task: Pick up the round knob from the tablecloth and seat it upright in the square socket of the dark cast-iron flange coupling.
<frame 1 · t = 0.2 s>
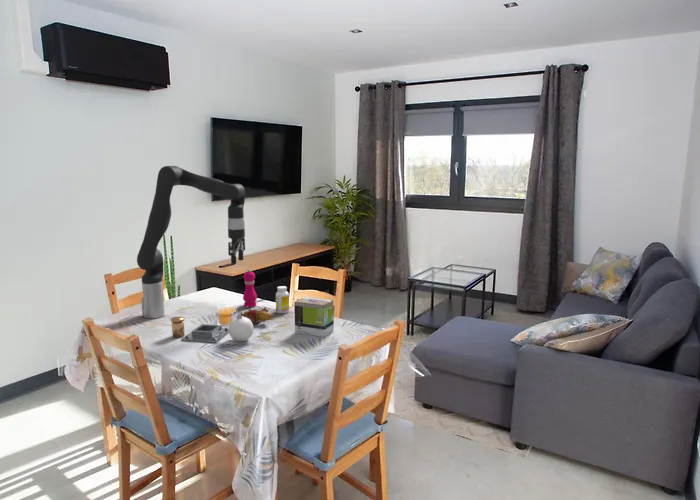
hand: (237, 262, 231), 29 cm above the table, fingers open, 8 cm apart
supplement bottle: (282, 312, 251), on the table
scarecrow: (256, 322, 235), on the table
round knob: (178, 336, 216), on the table
pepper mill: (250, 306, 261), on the table
tea box: (314, 332, 222), on the table
ornament: (241, 340, 211), on the table
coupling: (207, 335, 217), on the table
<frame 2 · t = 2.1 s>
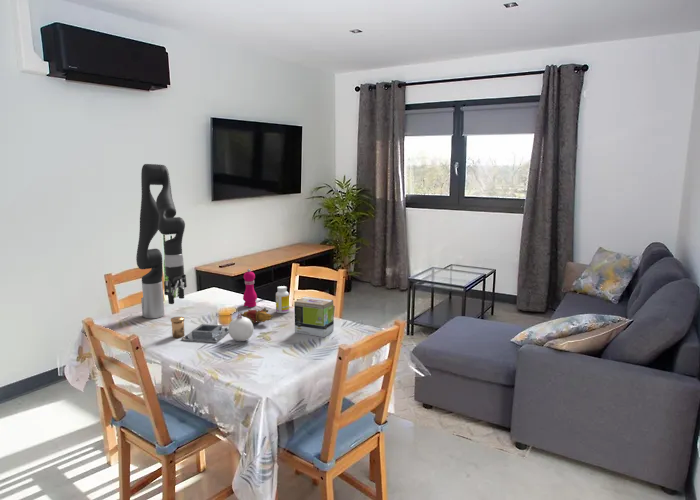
hand: (176, 301, 213), 16 cm above the table, fingers open, 8 cm apart
nothing on the table moved.
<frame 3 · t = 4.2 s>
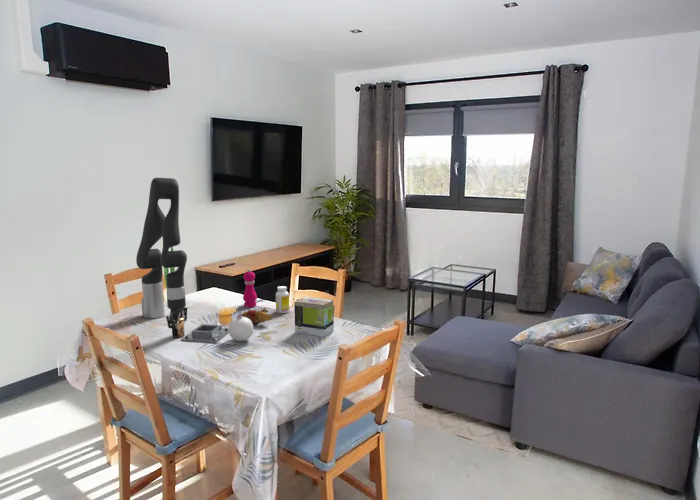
hand: (178, 334, 216), 1 cm above the table, fingers closed on round knob, 5 cm apart
round knob: (178, 336, 216), on the table, touching gripper
everything else where it was.
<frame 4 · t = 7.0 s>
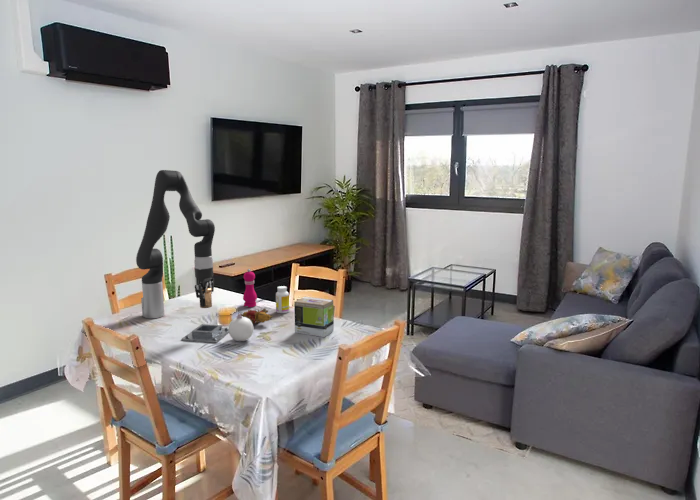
hand: (205, 304, 215), 14 cm above the table, fingers closed on round knob, 5 cm apart
round knob: (206, 306, 215), point 13 cm above the table, touching gripper
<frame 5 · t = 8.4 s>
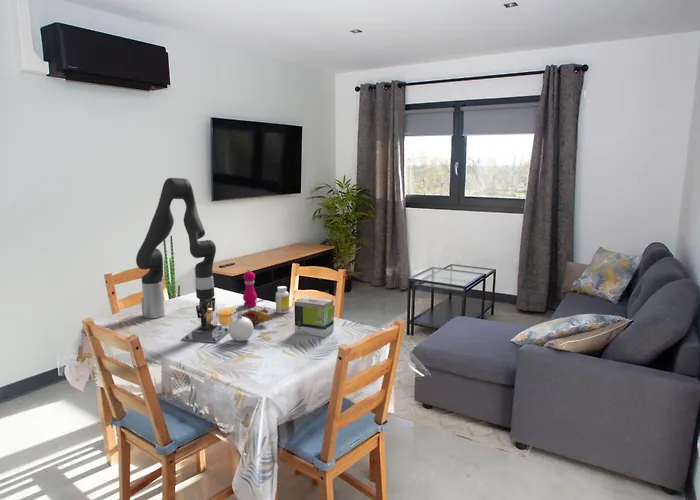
hand: (206, 324, 216), 5 cm above the table, fingers closed on round knob, 5 cm apart
round knob: (207, 326, 216), point 4 cm above the table, touching gripper
when the fingers open (4 cm above the table, at t = 9.5 s): round knob drops 3 cm, resting on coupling.
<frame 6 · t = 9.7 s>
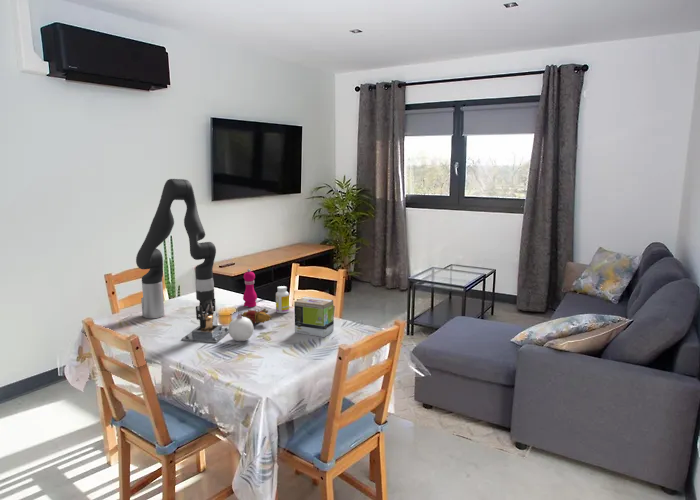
hand: (206, 324, 216), 5 cm above the table, fingers open, 7 cm apart
round knob: (207, 333, 217), point 1 cm above the table, touching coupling
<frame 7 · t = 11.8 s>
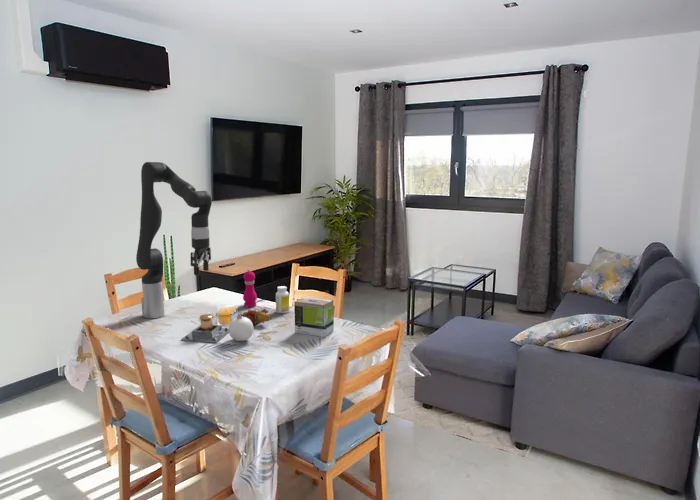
hand: (201, 272, 220), 26 cm above the table, fingers open, 8 cm apart
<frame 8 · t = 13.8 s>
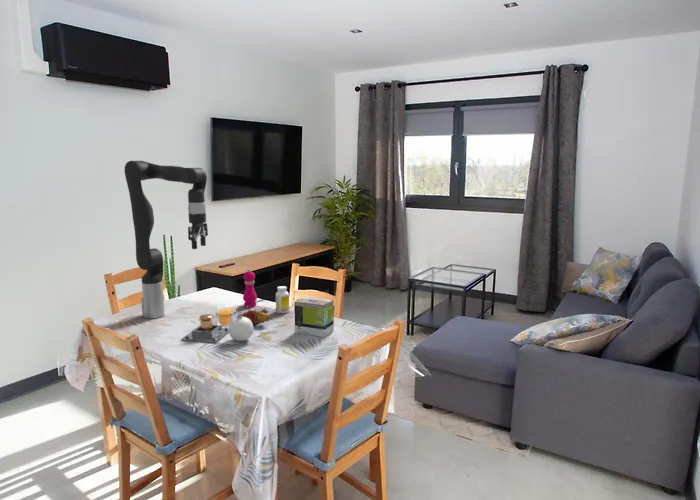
hand: (198, 247, 228), 36 cm above the table, fingers open, 8 cm apart
at the end: round knob 0.0 cm off-centre on the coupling, point 0.8 cm above the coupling's base; round knob tilted 0°; the gripper is holding nothing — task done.
